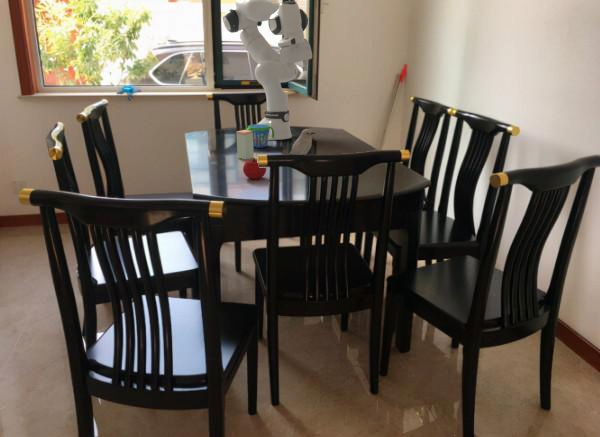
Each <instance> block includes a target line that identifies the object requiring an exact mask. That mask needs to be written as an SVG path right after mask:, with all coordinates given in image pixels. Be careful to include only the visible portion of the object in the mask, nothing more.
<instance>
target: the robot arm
mask: <svg viewBox="0 0 600 437" xmlns="http://www.w3.org/2000/svg"><path fill="white" fill-rule="evenodd" d="M235 6H236V7H233V8H230V9H229V10H228V11H226V12H225V13H224V14H223V16H222V17H223V18H222V22H223V24H224V27H225V28H226V31H228V32H229V33H238V32H239V31H240V32H239V33H240V34H239V38H240V40H241V42H242V45H243V48H245V51H247V53H248V54H249V55H250V56H251V58H252V59H253V61H254V62H255V63H257V65H256V66H255V68H254V76H255V79H256V81H257V82H258V83H259V84H261V86H262V89H263V90H264V94H265V97H266V110H265V111H262V113H263V115H264V118H262V120H260V121H259V122H258V123H257V124H265V125H269V126H270V127H272V128H273V130H274V138H272V137H271V136H272V130H271V128H270V130H269V136H268V141H274V140H278V141H279V140H280V141H282V140H286V139H287V140H288V139H291V138H292V137H293V136H292V132H291V127H290V110H289V95H288V94H287V92H286V91H284V90H283V87H282V84H281V83H288V82H291V81H293V80H295V79H296V78H297V76H298V74H299V71H298V66H297V64H296V63H298V62H299V63H300V62H302V64H303V65H302V67H301V70H302V72H306V71H308V66H309V60H312V58H313V53H312V52H313V51H312V47H311V45H310V43H309V40H307V38H305V35H304V31H305V30H307V27H308V24H309V18H308V15H307V13H306V12H305V11H304V10H303V9H302V8H300V7H299V5H298V3H297V2H296V1H295V0H288V1H287V0H286V1H282V2H280V3H279V4H278V3H275V2H272V1H269V0H235ZM265 21H267V22H268V27H269V31H270V32H271V33H272V34H273V35H275V36H281V35H282V36H283V38H282V39H280V40H279V41H278V43H277V46H278V48H279V52H278V51H276V50H275V49H274V48H273V47H272V46H271V44H270V43H269V42H268V41H267V40H266V38H265V37H264V35H263V34H262V33H261V32H260V30H259V28H258V27H261V26H262V25H263V22H265Z"/></svg>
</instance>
